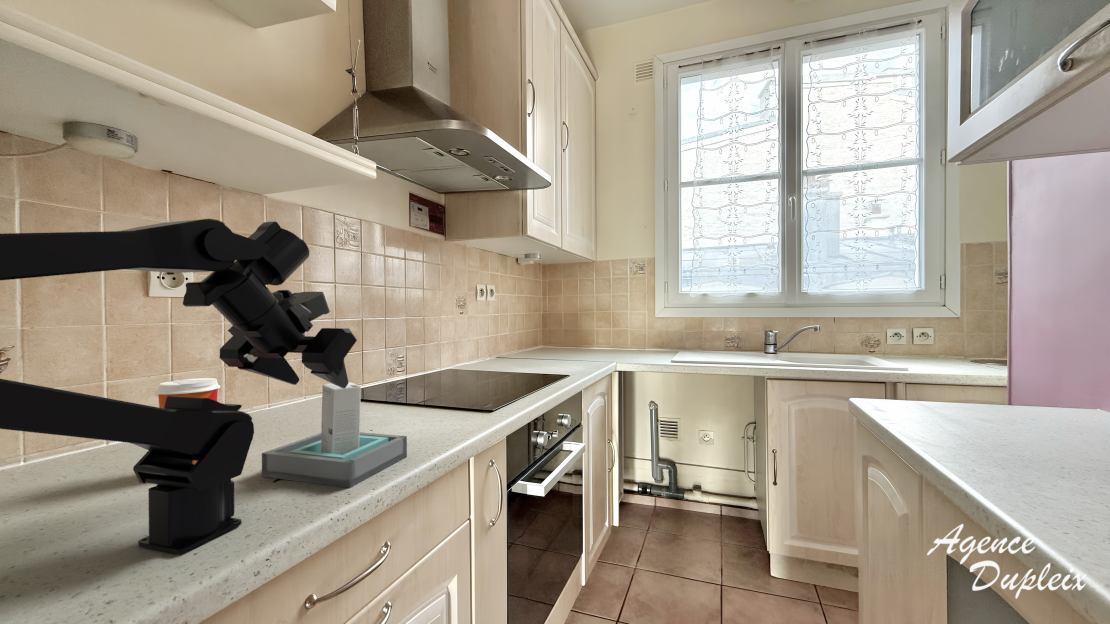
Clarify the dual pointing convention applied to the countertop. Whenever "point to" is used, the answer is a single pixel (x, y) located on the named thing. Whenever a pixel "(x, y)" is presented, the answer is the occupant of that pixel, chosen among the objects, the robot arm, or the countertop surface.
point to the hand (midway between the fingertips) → (321, 383)
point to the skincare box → (340, 418)
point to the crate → (334, 460)
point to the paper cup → (188, 390)
